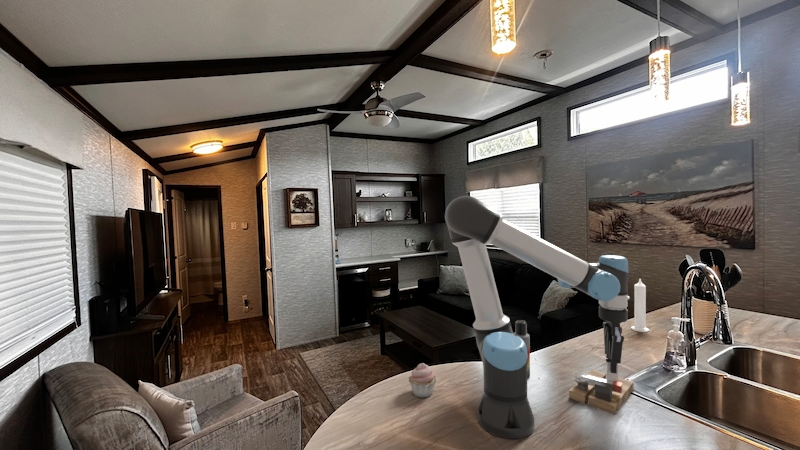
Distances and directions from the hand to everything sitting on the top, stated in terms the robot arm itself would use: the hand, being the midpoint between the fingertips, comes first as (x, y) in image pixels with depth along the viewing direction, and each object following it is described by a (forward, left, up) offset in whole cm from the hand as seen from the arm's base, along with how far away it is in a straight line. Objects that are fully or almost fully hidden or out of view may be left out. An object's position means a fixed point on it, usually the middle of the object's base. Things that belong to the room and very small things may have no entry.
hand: (612, 381), depth 107 cm
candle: (+78, +10, -6) cm, 79 cm away
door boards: (+1, +4, -6) cm, 7 cm away
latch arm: (-3, +3, -1) cm, 5 cm away
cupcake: (-39, +44, -6) cm, 59 cm away
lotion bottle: (-6, +27, -6) cm, 28 cm away
